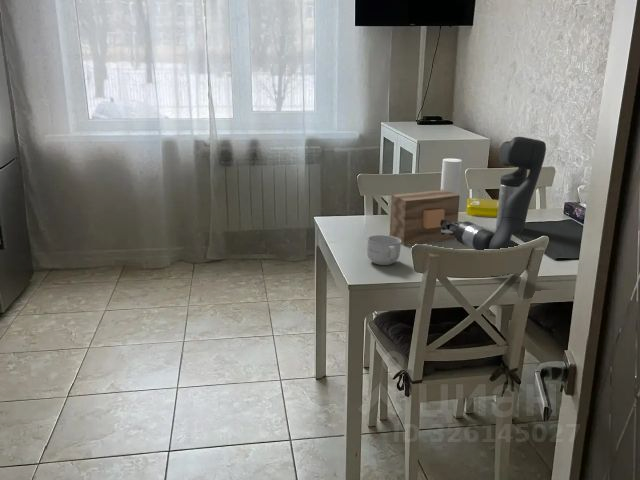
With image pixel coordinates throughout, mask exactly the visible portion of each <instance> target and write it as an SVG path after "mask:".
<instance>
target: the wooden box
mask: <svg viewBox="0 0 640 480" xmlns="http://www.w3.org/2000/svg"><path fill="white" fill-rule="evenodd" d="M460 197H461V196H460V194H459V195H456V194H454V193H451V192H448V191H446V190H441V189H440V190H428V191H427V190H426V191H418V192H406V193H396V194H391V198H390V199H391V200H390V220H389V236H393V237H396V238H399V239H400V240H401V245H402V246H403V245H404V246H409V245H408V244H411V245H417V244H416V243H419V244H424V243H423V242H427V243H433V241H434V242H441V241H449V240H456V238H455V236H453V235H450V234H449V233H446V234H445V235H441V227H436V228H428V229H426V228H424V227H422V223H423V210H424V209H434V208H441V209H443V210H445V213H444V219H446V220H448V221H450V222H451V221H453V222H457V221H458V222H459V209H460ZM411 245H410V246H411Z"/></svg>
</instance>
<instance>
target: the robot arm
mask: <svg viewBox="0 0 640 480" xmlns="http://www.w3.org/2000/svg"><path fill="white" fill-rule="evenodd" d="M546 145H547V144H546V143H545V142H544V141H543V140H539V139H535V138H528V137H524V136H514V137H513V138H511V140H510V141H508V140H507V141H504V142H502V144H501V146H500V148H499V151H498V160H499V162H500V164H501V165H502V166H504V167H513V168H517V169H516V170H514V171H512V172H510V173H507V174H503V175H502V176H501V177H500V184H499V195H498V200H499V202H498V212H497V217H496V222H495V223H496V225H495V227H496V229H495V232H492V231H490V230H488V229H486V228H484V227H482V226H480V225H478V224H475V223H474V222H471V221H467V220H466V221H459V220H458V221H457V222H453V221H451V222H450V221H448V220H446V219H444V220H441V223H440V225H441V226H442V227H441V235H445V234H446V233H449V234H450V235H453V236H455V238H456V239H455V240H456V241H457V242H458V244H459V243H460V244H462V245H463V246H465V247H467V248H470V249H471V250H475V251H477V250H484V249H500V248H508V247H514V246H518V245H521V244H520V243H518V242H516V241H514V240H512V239H511V238H512V237H513V235H521V233H523V232H524V228H525V226H526V221H527V215H528V211H529V208H530V204H531V200H532V197H533V194H534V191H535V189H536V186H537V182H538V180H539V177H540V174H541V170H542V169H543V168H542V167H543V164H544V161H545V156H546V152H547V146H546ZM528 170H529V172H528Z"/></svg>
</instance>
